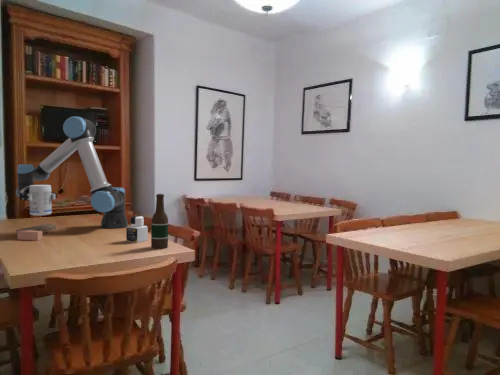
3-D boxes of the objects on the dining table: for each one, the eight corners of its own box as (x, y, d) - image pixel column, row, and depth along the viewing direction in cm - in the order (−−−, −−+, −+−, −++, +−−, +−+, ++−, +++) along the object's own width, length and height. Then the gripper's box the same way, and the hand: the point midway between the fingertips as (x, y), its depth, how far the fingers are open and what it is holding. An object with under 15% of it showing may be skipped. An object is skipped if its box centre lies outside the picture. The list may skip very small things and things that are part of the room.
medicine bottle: (126, 241, 176) (126, 216, 175) (137, 238, 182) (137, 215, 182) (137, 243, 173) (137, 217, 172) (147, 240, 179) (147, 216, 178)
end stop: (42, 239, 176) (42, 231, 176) (37, 240, 174) (37, 232, 173) (22, 238, 178) (22, 229, 178) (17, 239, 175) (17, 231, 175)
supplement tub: (49, 212, 190) (49, 184, 189) (53, 215, 182) (53, 185, 182) (28, 214, 184) (27, 184, 183) (31, 216, 176) (30, 185, 175)
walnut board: (55, 229, 203) (55, 224, 203) (26, 236, 182) (26, 230, 182) (46, 229, 204) (46, 223, 204) (16, 235, 183) (16, 229, 183)
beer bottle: (164, 249, 160) (164, 195, 159) (147, 248, 162) (147, 194, 161) (171, 246, 168) (171, 193, 167) (155, 244, 170) (155, 193, 168)
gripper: (53, 200, 203) (67, 203, 187) (6, 202, 188) (17, 206, 172) (53, 186, 203) (67, 189, 187) (5, 187, 187) (16, 190, 171)
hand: (43, 197), depth 179 cm, fingers closed on supplement tub, 9 cm apart
